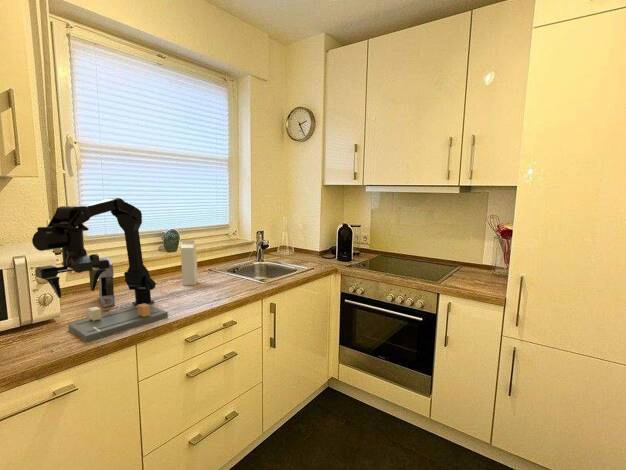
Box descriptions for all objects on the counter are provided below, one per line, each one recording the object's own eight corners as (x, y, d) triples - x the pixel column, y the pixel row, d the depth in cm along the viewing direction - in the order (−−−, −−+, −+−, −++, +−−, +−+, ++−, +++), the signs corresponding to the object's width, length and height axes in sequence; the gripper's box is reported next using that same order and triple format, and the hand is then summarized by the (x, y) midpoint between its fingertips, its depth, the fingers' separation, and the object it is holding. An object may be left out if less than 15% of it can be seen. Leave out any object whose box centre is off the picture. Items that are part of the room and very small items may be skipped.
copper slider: (138, 314, 118) (137, 304, 118) (144, 312, 120) (144, 303, 119) (143, 316, 116) (142, 307, 115) (150, 314, 117) (149, 305, 117)
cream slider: (89, 318, 115) (88, 308, 114) (96, 316, 117) (96, 306, 116) (93, 320, 112) (92, 310, 112) (101, 318, 114) (100, 308, 114)
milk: (194, 285, 165) (192, 241, 162) (182, 285, 164) (180, 241, 161) (197, 281, 171) (196, 239, 168) (185, 282, 170) (183, 239, 167)
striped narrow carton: (116, 306, 134) (113, 263, 132) (101, 309, 131) (98, 265, 129) (112, 294, 149) (109, 256, 147) (99, 296, 146) (95, 257, 144)
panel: (68, 329, 111) (68, 323, 111) (146, 308, 131) (146, 303, 131) (86, 342, 101) (85, 335, 101) (167, 317, 122) (167, 311, 121)
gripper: (46, 252, 92) (51, 306, 94) (116, 244, 108) (119, 291, 109) (32, 248, 99) (37, 299, 100) (100, 242, 114) (103, 286, 116)
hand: (76, 294), depth 106 cm, fingers open, 9 cm apart
